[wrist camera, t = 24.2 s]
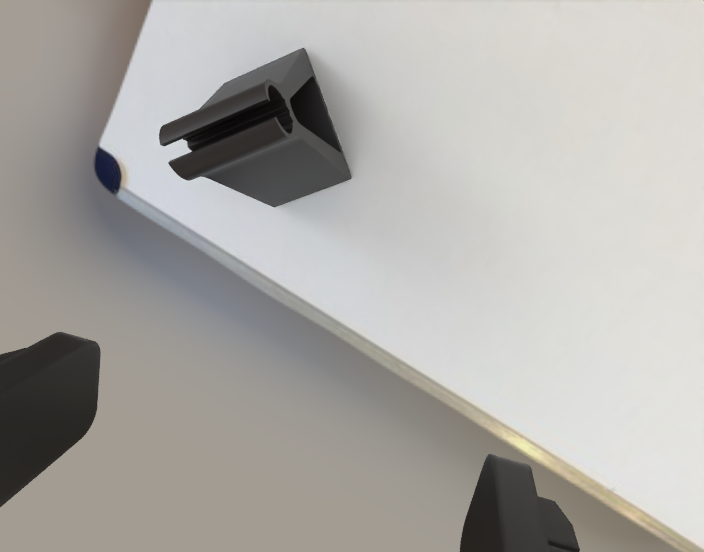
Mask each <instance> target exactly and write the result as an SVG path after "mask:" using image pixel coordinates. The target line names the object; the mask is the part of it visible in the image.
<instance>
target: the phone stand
mask: <svg viewBox="0 0 704 552" xmlns="http://www.w3.org/2000/svg"><path fill="white" fill-rule="evenodd" d="M182 138H183V140H186V141H187V143H188V148H189V149H190V150H192V152H190V153H188V154H186V155H183V156H181V157H178V158H176V159H174V160H171V161H170V162H169V165H170V166H171V168H172V169H173V170H174V171H175V172H176V173H177V174H178V175H179V176H180V177H181V178H183V179H185V180H193V179H195V178H198V177H200V176H201V177H206V178H209V179H211V180H213V181H216V182H218V183H220V184H222V185H225V186H227V187H229V188H232V189H234V190H236V191H238V192H241V193H243V194H245V195H247V196H250V197H252V198H254V199H257V200H259V201H261V202H263V203H266V204H268V205H270V206H272V207H276V206H279V205H282V204H284V203H287V202H290V201H292V200H295V199H298V198H301V197H303V196H306V195H309V194H311V193H314V192H317V191H319V190H322V189H325V188H328V187H330V186H333V185H336V184H338V183H341V182H344V181H346V180H349V179H351V174H350V171H349V168H348V165H347V163H346V160H345V157H344V154H343V151H342V149H341V146H340V143H339V140H338V138H337V135H336V132H335V129H334V127H333V124H332V121H331V118H330V117H329V115H328V110H327V107H326V105H325V102H324V99H323V96H322V94H321V91H320V88H319V85H318V83H317V80H316V77H315V74H314V72H313V69H312V66H311V63H310V60H309V58H308V55H307V52H306V50H305V49H304V48H302V49H299V50H297V51H295V52H293V53H290V54H288V55H286V56H284V57H282V58H279V59H277V60H275V61H273V62H270V63H268V64H266V65H264V66H262V67H259V68H257V69H255V70H253V71H251V72H248V73H246V74H244V75H242V76H239V77H237V78H235V79H233V80H231V81H228V82H226V83H224V84H223V85H222V87H221V88H220V89H219V90H218V91H217V92H216V93H215V94H214V95H213V96H212V97H211V98H210V99H209V100H208V101H207V102H206V103H205V104H204V105H203V106H202V107H201V108H200V109H199V110H197V111H195V112H193V113H190V114H188V115H186V116H183V117H181V118H179V119H177V120H174V121H172V122H170V123H168V124H165V125H163V126H162V127H161V129H160V133H159V139H160V145H162V146H166V145H168V144H171V143H173V142H175V141H178V140H180V139H182Z"/></svg>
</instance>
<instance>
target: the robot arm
mask: <svg viewBox="0 0 704 552" xmlns="http://www.w3.org/2000/svg"><path fill="white" fill-rule="evenodd" d="M99 368H100V348H99V345H98V344H97V343H96V342H95V341H91V340H88V339H84V338H80V337H77V336H74V335H70V334H66V333H63V332H57V333H55V334H53V335H51V336H49V337H47V338H45V339H43V340H41V341H39V342H37V343H35V344H34V345H32V346H30V347H28V348H24V349H20V350H16V351H13V352H8V353H5V354H1V355H0V507H1V506H2V505H3V504H5V503H6V502H7V501H8V500H9V499H11V498H12V497H13V496H14V495H15V494H17V493H18V492H19V491H20V490H21V489H22V488H24V487H25V486H26V485H27V484H28V483H29V482H31V481H32V480H33V479H34V478H35V477H37V476H38V475H39V474H40V473H41V472H42V471H44V470H45V469H46V468H47V467H48V466H50V465H51V464H52V463H53V462H54V461H55V460H57V459H58V458H59V457H60V456H61V455H63V454H64V453H65V452H66V451H67V450H68V449H69V448H71V447H72V446H73V445H74V444H75V443H77V442H78V441H79V440H80V439H81V438H82V437H83V436H84V435H85V434H86V433H87V431H88V430H89V428H90V426H91V425H92V423H93V420H94V417H95V415H96V411H97V400H98V383H99ZM579 551H580V549H579V546H578V543H577V539H576V536H575V532H574V529H573V526H572V524H571V523H570V521H569V520H568V519H567V517H566V516H565V515H564V513H563V512H562V511H561V509H560V508H559V506H558V505H557V504H556V502H555V501H552V500H549V499H545V498H542V497H538V496H537V492H536V487H535V483H534V479H533V474H532V470H531V467H530V466H529V465H528V464H524V463H520V462H517V461H513V460H510V459H506V458H503V457H499V456H496V455H492V454H489V455H488V456H487V458H486V460H485V462H484V465H483V468H482V471H481V474H480V477H479V480H478V483H477V486H476V489H475V492H474V495H473V498H472V501H471V504H470V507H469V510H468V513H467V516H466V519H465V523H464V527H463V532H462V538H461V545H460V552H579Z"/></svg>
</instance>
